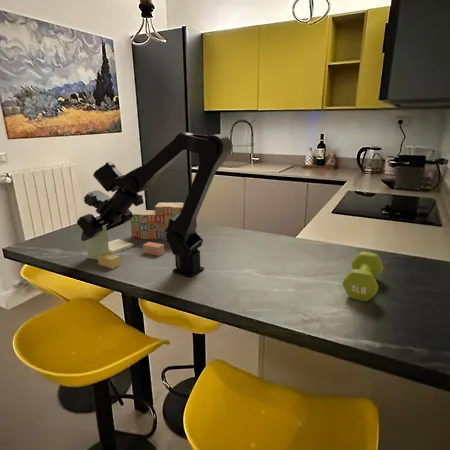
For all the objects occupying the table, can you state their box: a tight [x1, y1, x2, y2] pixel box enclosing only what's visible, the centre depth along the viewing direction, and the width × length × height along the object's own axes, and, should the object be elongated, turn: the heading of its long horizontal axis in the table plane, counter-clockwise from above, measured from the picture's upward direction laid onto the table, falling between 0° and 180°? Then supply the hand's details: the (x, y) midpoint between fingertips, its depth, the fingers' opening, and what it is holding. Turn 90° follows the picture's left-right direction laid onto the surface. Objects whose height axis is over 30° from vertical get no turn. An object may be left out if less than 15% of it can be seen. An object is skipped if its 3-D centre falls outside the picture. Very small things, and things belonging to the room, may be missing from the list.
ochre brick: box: [97, 252, 122, 270], centre depth 99 cm, size 6×3×3 cm, turn 58°
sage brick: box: [85, 225, 110, 261], centre depth 104 cm, size 4×4×10 cm
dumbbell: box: [342, 251, 384, 302], centre depth 85 cm, size 16×8×7 cm, turn 150°
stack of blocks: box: [129, 202, 185, 240], centre depth 121 cm, size 21×6×12 cm, turn 85°
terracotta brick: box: [142, 241, 165, 257], centre depth 108 cm, size 6×3×3 cm, turn 64°
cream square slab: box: [108, 238, 134, 255], centre depth 113 cm, size 8×8×2 cm
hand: (93, 235), depth 104 cm, fingers open, 9 cm apart
